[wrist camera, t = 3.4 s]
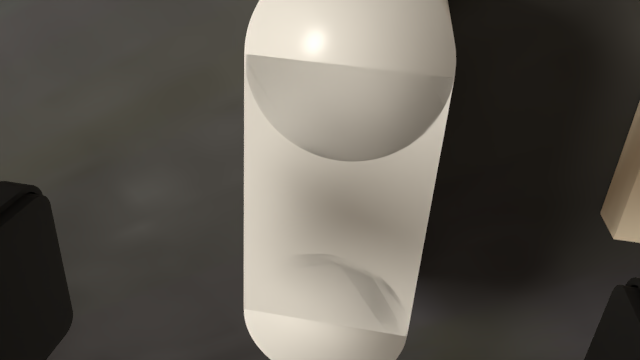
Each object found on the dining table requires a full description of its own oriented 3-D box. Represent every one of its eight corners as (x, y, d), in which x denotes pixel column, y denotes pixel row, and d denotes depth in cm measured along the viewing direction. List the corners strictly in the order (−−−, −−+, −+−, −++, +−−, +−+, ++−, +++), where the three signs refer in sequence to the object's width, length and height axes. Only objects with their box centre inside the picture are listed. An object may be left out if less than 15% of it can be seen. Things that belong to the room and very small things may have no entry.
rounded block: (403, 276, 21) (395, 395, 16) (286, 258, 21) (243, 367, 16) (461, -62, 15) (475, -38, 10) (300, -76, 16) (244, -58, 11)
